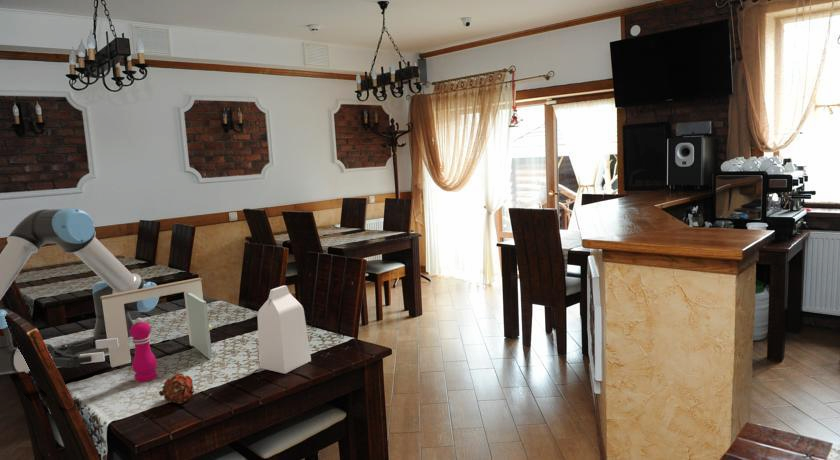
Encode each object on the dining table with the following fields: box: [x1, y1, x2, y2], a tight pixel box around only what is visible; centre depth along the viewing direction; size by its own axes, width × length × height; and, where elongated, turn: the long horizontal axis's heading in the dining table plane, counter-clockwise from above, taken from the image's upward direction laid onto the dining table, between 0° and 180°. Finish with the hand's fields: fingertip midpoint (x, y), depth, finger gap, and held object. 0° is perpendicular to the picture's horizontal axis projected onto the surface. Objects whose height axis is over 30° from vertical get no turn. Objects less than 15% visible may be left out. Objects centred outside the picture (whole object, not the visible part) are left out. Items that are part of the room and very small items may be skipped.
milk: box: [257, 285, 312, 374], centre depth 182 cm, size 12×12×26 cm
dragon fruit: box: [158, 373, 195, 404], centre depth 160 cm, size 8×8×12 cm
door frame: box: [100, 277, 204, 368], centre depth 200 cm, size 3×34×25 cm, turn 133°
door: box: [186, 292, 213, 360], centre depth 199 cm, size 3×20×20 cm, turn 38°
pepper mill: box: [130, 317, 158, 383], centre depth 177 cm, size 7×7×20 cm
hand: (111, 349), depth 175 cm, fingers open, 13 cm apart
